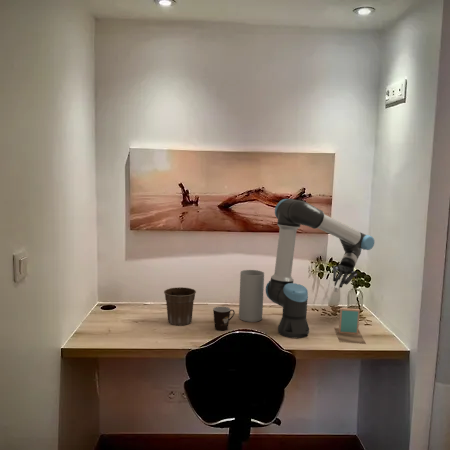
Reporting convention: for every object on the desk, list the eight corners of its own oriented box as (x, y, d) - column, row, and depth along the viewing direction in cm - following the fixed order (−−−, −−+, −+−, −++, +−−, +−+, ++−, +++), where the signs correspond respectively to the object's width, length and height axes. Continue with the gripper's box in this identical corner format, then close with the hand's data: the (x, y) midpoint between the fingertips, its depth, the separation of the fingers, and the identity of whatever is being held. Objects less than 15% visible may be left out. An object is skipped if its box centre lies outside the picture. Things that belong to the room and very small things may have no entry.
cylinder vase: (253, 324, 233) (255, 276, 230) (234, 318, 241) (235, 272, 237) (266, 318, 243) (268, 272, 240) (247, 313, 251) (249, 268, 247)
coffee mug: (214, 332, 220) (214, 312, 219) (211, 326, 228) (211, 306, 227) (237, 331, 222) (238, 311, 221) (233, 325, 231) (234, 306, 229)
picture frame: (338, 331, 223) (340, 307, 222) (357, 332, 222) (359, 309, 221) (339, 332, 221) (340, 309, 220) (358, 334, 220) (359, 310, 219)
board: (333, 329, 229) (334, 327, 228) (358, 331, 227) (358, 329, 227) (339, 344, 210) (339, 341, 210) (365, 346, 209) (366, 343, 208)
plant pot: (157, 323, 230) (157, 292, 228) (175, 314, 244) (175, 285, 242) (184, 329, 222) (184, 297, 220) (201, 320, 237) (201, 290, 234)
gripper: (360, 271, 241) (348, 299, 223) (335, 265, 246) (322, 292, 229) (361, 260, 237) (349, 287, 219) (336, 254, 242) (323, 280, 225)
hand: (336, 289), depth 224 cm, fingers closed
